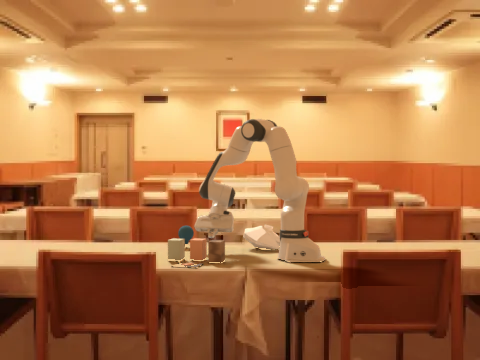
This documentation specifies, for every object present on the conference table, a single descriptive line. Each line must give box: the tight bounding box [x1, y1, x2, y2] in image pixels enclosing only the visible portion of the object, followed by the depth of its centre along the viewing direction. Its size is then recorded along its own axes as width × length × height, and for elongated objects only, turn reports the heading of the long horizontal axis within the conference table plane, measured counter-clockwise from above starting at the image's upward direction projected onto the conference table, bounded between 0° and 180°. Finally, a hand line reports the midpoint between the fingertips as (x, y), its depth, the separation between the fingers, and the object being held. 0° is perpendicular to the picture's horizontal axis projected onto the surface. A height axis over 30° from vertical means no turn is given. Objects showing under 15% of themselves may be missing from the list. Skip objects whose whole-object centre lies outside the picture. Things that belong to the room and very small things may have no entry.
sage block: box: [167, 237, 186, 260], centre depth 256 cm, size 6×6×10 cm
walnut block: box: [207, 239, 226, 263], centre depth 250 cm, size 6×6×10 cm
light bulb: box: [177, 225, 195, 245], centre depth 294 cm, size 8×8×12 cm
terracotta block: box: [189, 237, 208, 260], centre depth 256 cm, size 6×6×10 cm
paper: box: [242, 223, 280, 249], centre depth 290 cm, size 25×24×12 cm
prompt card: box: [181, 262, 205, 267], centre depth 242 cm, size 12×9×1 cm
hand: (210, 237), depth 272 cm, fingers closed
